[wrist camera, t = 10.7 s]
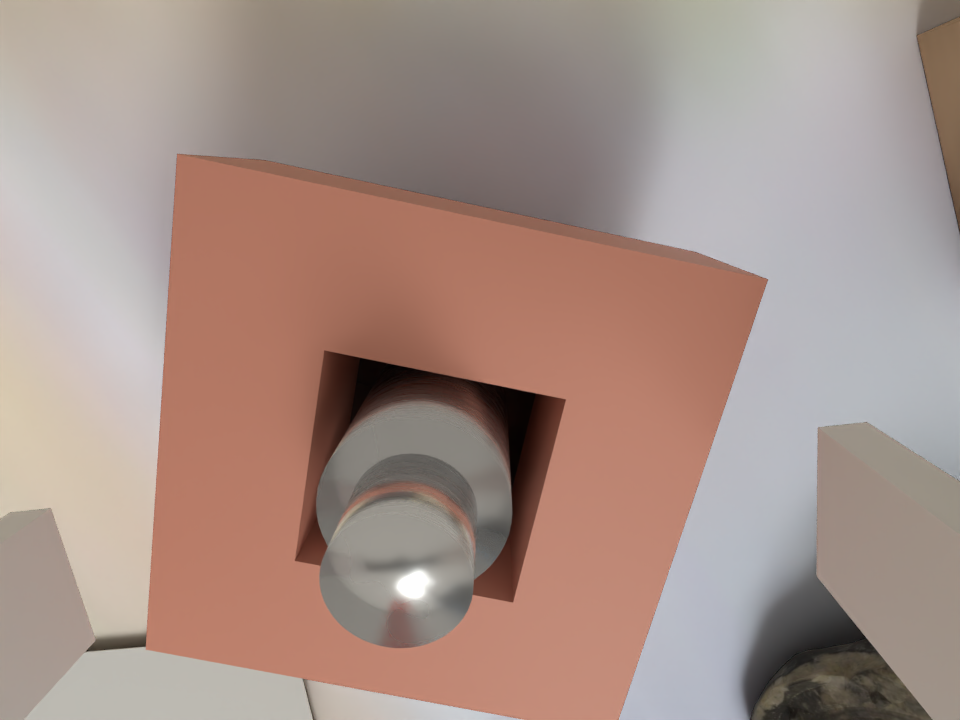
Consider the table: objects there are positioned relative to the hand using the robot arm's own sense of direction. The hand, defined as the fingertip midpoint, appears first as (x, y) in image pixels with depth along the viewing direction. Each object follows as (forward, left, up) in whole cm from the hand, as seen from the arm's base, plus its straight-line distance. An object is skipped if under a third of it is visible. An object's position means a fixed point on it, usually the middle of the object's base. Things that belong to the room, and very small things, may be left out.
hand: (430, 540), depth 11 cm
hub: (0, 0, -8) cm, 8 cm away
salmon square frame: (0, 0, -5) cm, 5 cm away
